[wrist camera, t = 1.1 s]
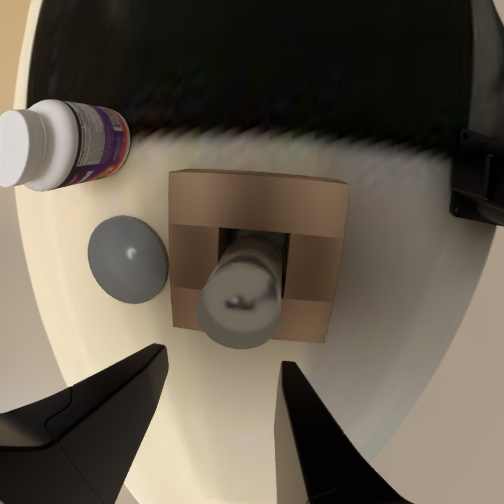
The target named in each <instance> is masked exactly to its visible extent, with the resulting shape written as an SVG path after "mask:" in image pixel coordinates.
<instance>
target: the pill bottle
mask: <svg viewBox="0 0 504 504" xmlns="http://www.w3.org/2000/svg"><path fill="white" fill-rule="evenodd" d="M129 148H130V132H129V128H128V125H127V123H126V121H125V119H124V118H123V117H122V116H121V115H120V114H119V113H118V112H116V111H114V110H111V109H108V108H104V107H98V106H92V105H87V104H81V103H75V102H68V101H62V100H44V101H41V102H38V103H36V104H35V105H33V106H32V107H30V108H29V109H23V110H10V111H7V112H5V113H4V114H2V116H0V186H2V187H13V186H18V185H22V184H24V185H25V186H26V187H28V188H29V189H31V190H34V191H49V190H53V189H57V188H61V187H66V186H70V185H74V184H78V183H83V182H87V181H92V180H97V179H101V178H105V177H108V176H110V175H112V174H113V173H115V172H116V171H117V170H118V169H119V168H120V167H121V166H122V164H123V163H124V161H125V159H126V157H127V155H128V152H129Z"/></svg>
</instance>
